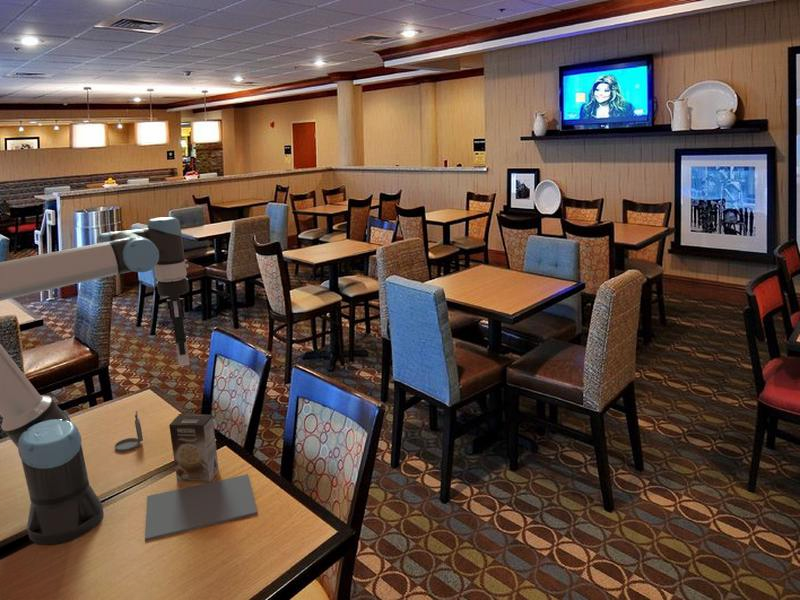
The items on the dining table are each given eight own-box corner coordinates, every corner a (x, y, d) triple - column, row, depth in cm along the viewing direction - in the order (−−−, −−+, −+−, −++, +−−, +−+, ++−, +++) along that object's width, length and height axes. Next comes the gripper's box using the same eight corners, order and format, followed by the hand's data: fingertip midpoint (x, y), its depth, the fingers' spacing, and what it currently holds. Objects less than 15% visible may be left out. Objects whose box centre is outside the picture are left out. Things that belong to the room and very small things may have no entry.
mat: (145, 541, 130) (144, 538, 130) (147, 498, 146) (147, 495, 145) (257, 514, 138) (257, 511, 138) (248, 476, 154) (248, 474, 153)
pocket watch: (109, 449, 170) (104, 417, 167) (134, 436, 177) (129, 405, 175) (129, 455, 166) (123, 422, 164) (154, 442, 173) (149, 410, 171)
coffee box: (175, 482, 152) (166, 424, 148) (186, 469, 158) (178, 413, 154) (210, 483, 151) (202, 425, 147) (220, 469, 157) (213, 413, 153)
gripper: (188, 281, 149) (200, 370, 155) (186, 271, 161) (198, 354, 167) (155, 285, 146) (169, 375, 153) (156, 275, 158) (169, 359, 164)
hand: (184, 364), depth 160 cm, fingers closed
